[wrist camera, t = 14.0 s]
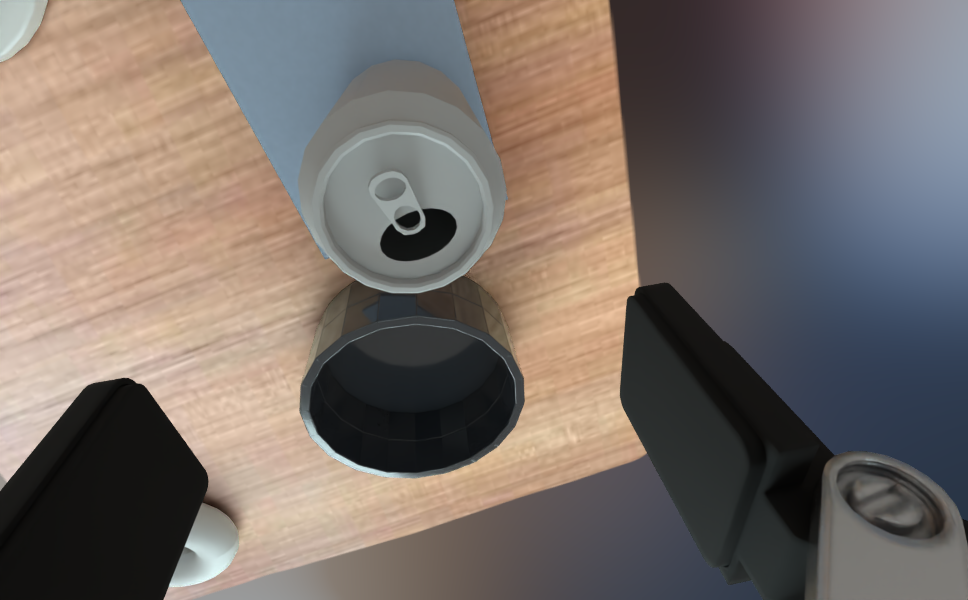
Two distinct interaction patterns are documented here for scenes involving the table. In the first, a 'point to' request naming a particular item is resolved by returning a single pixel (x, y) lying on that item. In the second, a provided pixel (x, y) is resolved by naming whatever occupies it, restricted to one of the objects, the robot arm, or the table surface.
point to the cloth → (321, 60)
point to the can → (402, 180)
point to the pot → (411, 379)
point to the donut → (206, 548)
